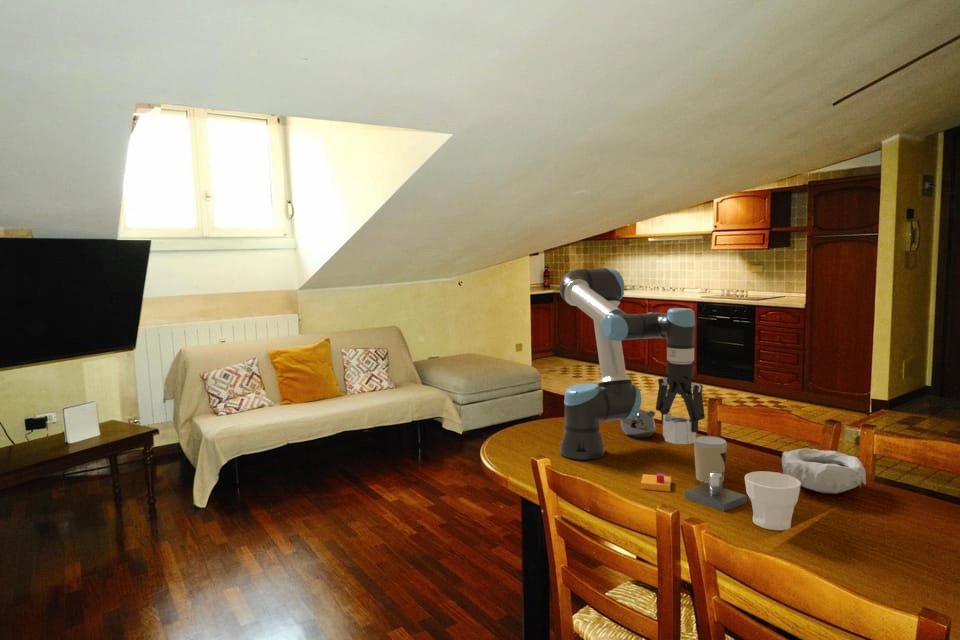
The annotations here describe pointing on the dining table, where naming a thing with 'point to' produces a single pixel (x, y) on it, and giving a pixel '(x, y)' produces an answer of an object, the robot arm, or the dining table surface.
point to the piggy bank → (639, 424)
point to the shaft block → (716, 494)
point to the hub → (676, 429)
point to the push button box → (656, 482)
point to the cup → (772, 498)
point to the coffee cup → (709, 457)
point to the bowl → (824, 470)
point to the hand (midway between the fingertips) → (679, 438)
